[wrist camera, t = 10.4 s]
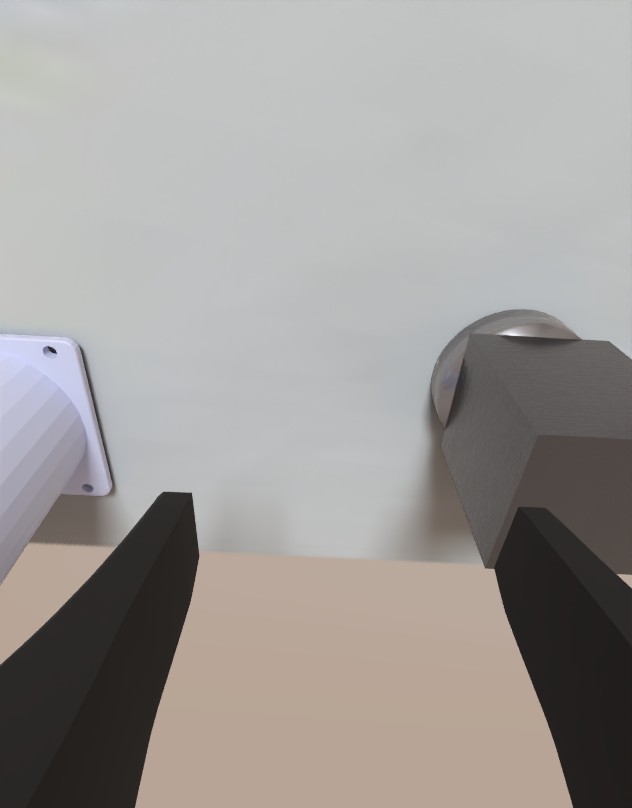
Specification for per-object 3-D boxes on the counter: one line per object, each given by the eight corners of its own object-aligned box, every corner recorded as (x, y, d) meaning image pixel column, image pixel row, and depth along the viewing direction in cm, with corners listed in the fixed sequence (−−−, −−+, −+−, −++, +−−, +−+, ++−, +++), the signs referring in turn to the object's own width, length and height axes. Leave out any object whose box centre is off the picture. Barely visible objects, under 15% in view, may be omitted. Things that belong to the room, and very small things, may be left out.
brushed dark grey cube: (440, 445, 19) (485, 568, 14) (469, 333, 16) (538, 434, 11) (560, 451, 19) (647, 574, 14) (608, 341, 17) (737, 444, 12)
